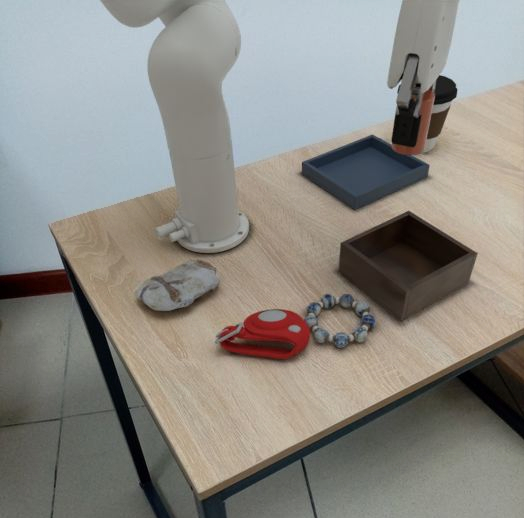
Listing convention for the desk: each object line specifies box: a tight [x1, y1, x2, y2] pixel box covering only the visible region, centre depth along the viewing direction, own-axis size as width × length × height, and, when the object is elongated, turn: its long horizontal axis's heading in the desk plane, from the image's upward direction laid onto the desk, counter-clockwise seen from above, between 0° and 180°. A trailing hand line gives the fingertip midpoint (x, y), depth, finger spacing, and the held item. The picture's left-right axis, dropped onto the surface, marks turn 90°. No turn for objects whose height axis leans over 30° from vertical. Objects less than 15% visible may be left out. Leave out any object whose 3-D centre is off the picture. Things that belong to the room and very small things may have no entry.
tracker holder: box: [214, 308, 311, 360], centre depth 71 cm, size 12×4×10 cm
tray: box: [301, 133, 431, 211], centre depth 99 cm, size 18×16×2 cm
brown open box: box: [338, 210, 478, 322], centre depth 78 cm, size 14×14×6 cm
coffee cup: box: [396, 74, 458, 154], centre depth 102 cm, size 11×11×12 cm
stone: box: [135, 258, 220, 312], centre depth 79 cm, size 12×9×3 cm
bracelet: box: [303, 293, 376, 349], centre depth 73 cm, size 10×10×2 cm
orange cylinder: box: [391, 87, 435, 156], centre depth 69 cm, size 4×4×7 cm
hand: (409, 134), depth 70 cm, fingers closed on orange cylinder, 4 cm apart
